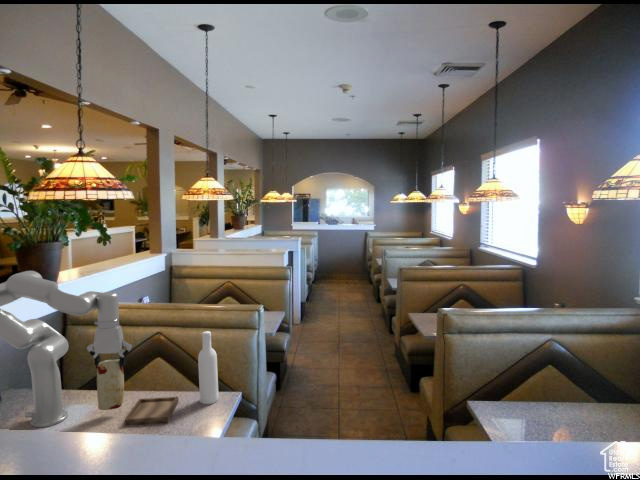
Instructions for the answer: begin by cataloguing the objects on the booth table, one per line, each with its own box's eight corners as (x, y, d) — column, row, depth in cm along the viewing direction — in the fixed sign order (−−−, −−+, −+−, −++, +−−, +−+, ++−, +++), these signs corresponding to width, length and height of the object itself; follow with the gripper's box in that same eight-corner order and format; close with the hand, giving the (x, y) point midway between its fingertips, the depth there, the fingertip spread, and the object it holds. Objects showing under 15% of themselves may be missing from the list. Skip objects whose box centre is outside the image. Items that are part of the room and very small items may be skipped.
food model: (98, 414, 171) (96, 364, 169) (97, 407, 177) (95, 359, 175) (125, 408, 176) (124, 359, 175) (123, 402, 182) (121, 355, 180)
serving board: (125, 425, 169) (124, 419, 168) (139, 404, 186) (139, 398, 186) (167, 423, 170) (167, 417, 170) (178, 402, 188) (178, 396, 188)
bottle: (200, 397, 192) (197, 330, 190) (219, 395, 194) (216, 328, 191) (198, 405, 184) (195, 335, 182) (218, 403, 186) (215, 334, 183)
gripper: (81, 326, 169) (83, 370, 171) (128, 325, 171) (129, 369, 172) (89, 321, 177) (91, 363, 178) (134, 320, 178) (135, 362, 180)
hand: (110, 366), depth 175 cm, fingers closed on food model, 8 cm apart
